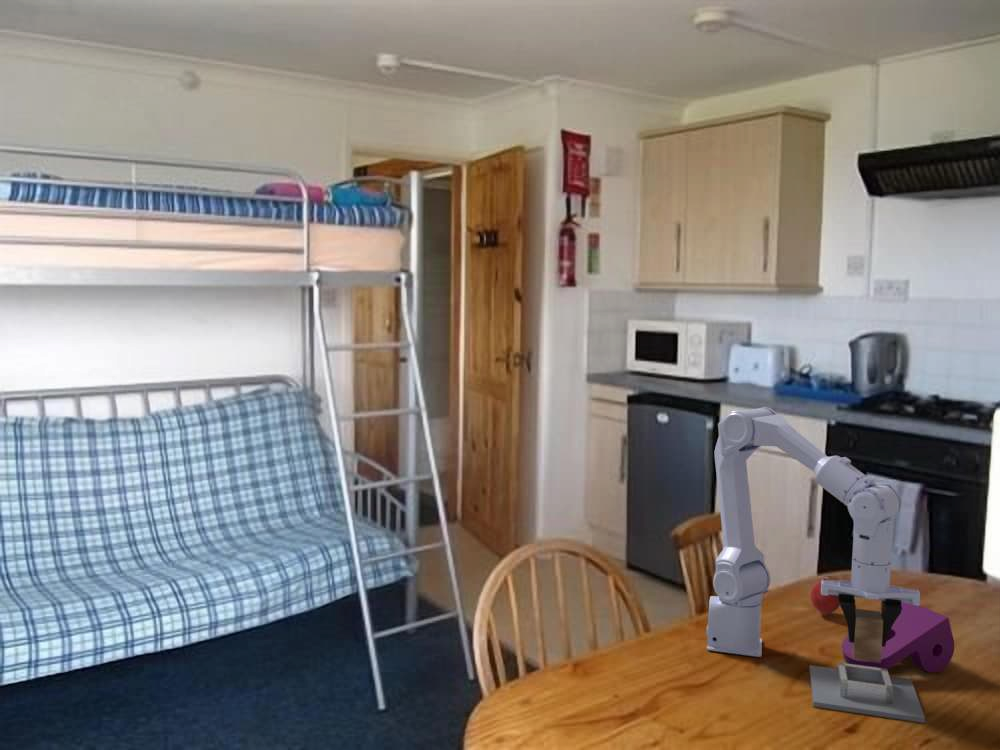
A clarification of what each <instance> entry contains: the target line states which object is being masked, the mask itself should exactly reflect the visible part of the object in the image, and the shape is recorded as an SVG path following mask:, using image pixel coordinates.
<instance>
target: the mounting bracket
mask: <svg viewBox="0 0 1000 750" xmlns="http://www.w3.org/2000/svg"><path fill="white" fill-rule="evenodd" d="M901 606H902V611H901V614H900V615H899V616H898V618H897V619H896V621H895V622H894V624H893V626H892V628H891V630H890V632H889V635H888V637H887V641H886V645H885V647H884V646H882V651H881V663H877V662H870V661H862V660H854V658H853V654H852V642H849V638H848V635H846V636H845V638H843V640H842V642H841V652H842V655H843V658H844V661H845V663H846V664H854V665H861V666H869V667H876V668H884V669H887V670H888V669H890V668H892V667H894V666H895V665H897V664H898V663H900V662H902V661H903V660H904V659H906V658H908V657H909V658H910V661H911V662H912V663H913V664H914V665H915V666H917V667H918V668H921V669H923V670H924V671H926V672H929V673H938V672H940V671H942V670H944V669H945V668H946V667H947V666H948V665H949V663H950V662H951V660H952V658H953V655H954V651H955V639H954V636H953V635H954V634H953V632H952V627H951V623H950V621H949V620H950V619H949V616H946V615H943V614H941V613H939V612H937V611H934V610H932V609H930V608H927V607H925V606H922V605H920V606H916V605H912V604H911V603H902V602H901Z"/></svg>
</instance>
